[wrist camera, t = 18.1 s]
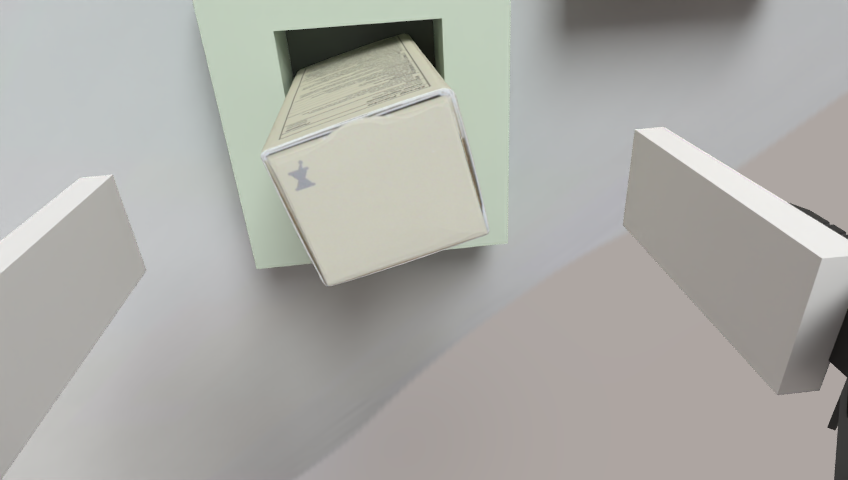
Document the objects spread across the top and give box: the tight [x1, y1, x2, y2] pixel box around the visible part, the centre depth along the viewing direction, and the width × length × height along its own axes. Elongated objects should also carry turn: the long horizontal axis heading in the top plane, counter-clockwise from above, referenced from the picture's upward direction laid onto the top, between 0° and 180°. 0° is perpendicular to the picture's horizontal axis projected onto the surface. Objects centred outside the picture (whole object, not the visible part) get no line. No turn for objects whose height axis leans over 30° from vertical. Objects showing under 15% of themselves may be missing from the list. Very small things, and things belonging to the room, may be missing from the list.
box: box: [261, 34, 490, 287], centre depth 19 cm, size 5×4×11 cm
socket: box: [192, 0, 511, 269], centre depth 22 cm, size 11×12×3 cm
